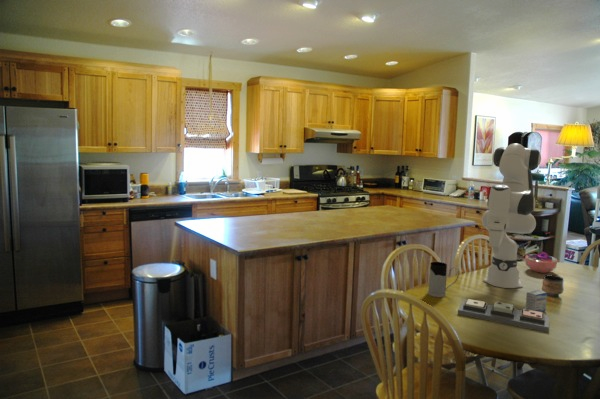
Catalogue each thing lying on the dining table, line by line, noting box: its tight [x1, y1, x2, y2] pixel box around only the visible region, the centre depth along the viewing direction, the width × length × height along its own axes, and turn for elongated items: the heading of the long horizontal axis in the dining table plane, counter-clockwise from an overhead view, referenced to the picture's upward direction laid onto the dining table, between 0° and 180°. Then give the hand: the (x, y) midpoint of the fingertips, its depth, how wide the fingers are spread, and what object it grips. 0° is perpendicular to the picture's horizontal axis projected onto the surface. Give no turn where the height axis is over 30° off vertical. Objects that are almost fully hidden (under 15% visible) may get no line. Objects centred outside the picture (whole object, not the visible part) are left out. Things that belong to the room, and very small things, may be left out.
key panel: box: [457, 298, 550, 333], centre depth 188 cm, size 14×34×4 cm, turn 61°
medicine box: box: [525, 289, 548, 313], centre depth 196 cm, size 8×4×9 cm, turn 117°
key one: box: [466, 298, 486, 308], centre depth 193 cm, size 7×7×2 cm
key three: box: [522, 308, 543, 319], centre depth 183 cm, size 7×7×2 cm
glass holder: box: [427, 261, 460, 298], centre depth 215 cm, size 9×14×15 cm, turn 84°
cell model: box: [524, 251, 558, 274], centre depth 259 cm, size 17×20×11 cm
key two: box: [493, 300, 514, 314], centre depth 188 cm, size 7×7×2 cm
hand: (495, 253), depth 195 cm, fingers closed
